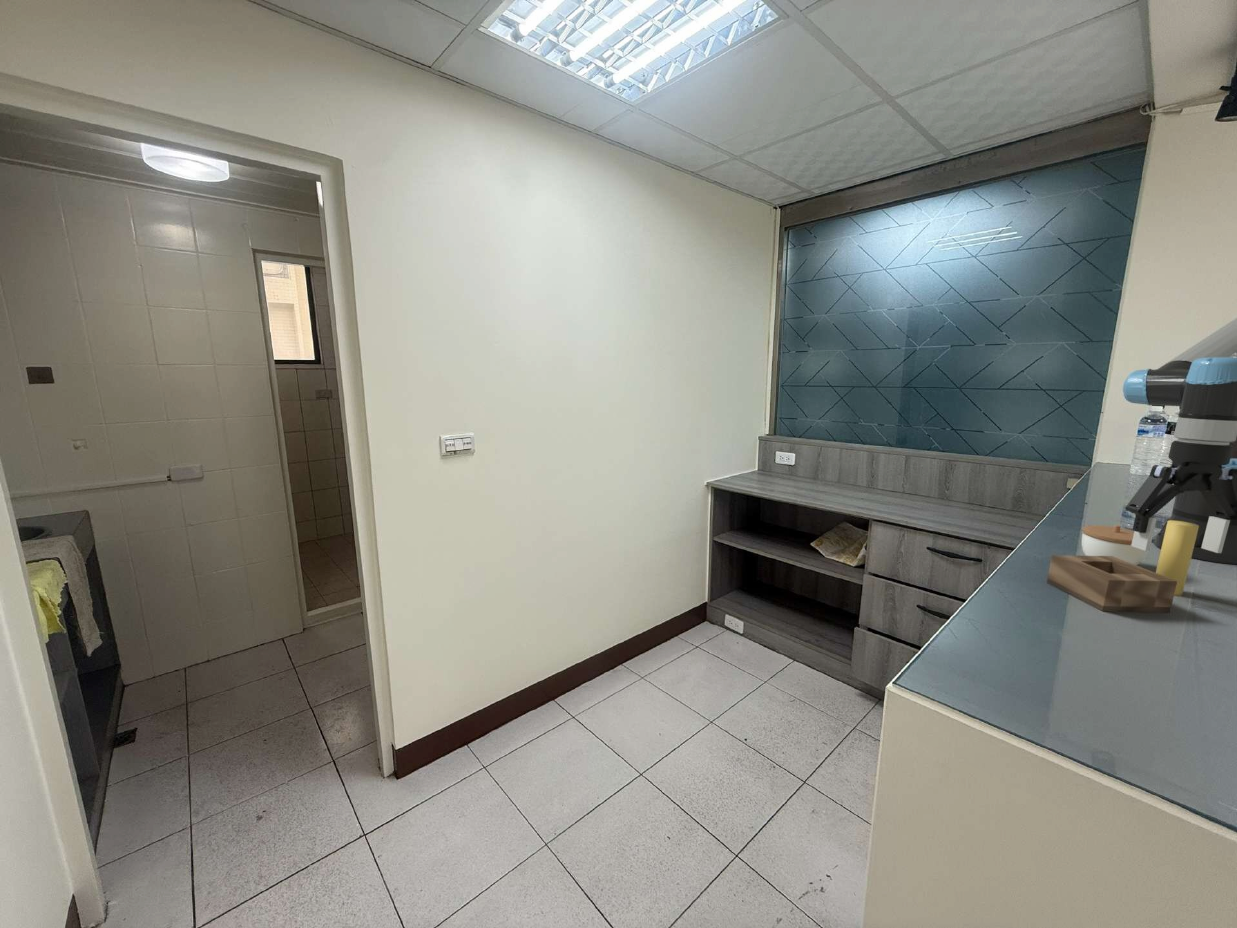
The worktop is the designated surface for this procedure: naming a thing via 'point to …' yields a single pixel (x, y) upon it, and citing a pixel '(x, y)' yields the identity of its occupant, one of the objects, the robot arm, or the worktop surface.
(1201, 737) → the worktop surface
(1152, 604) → the socket block
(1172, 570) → the dowel
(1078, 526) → the worktop surface
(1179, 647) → the worktop surface
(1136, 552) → the lidded jar
